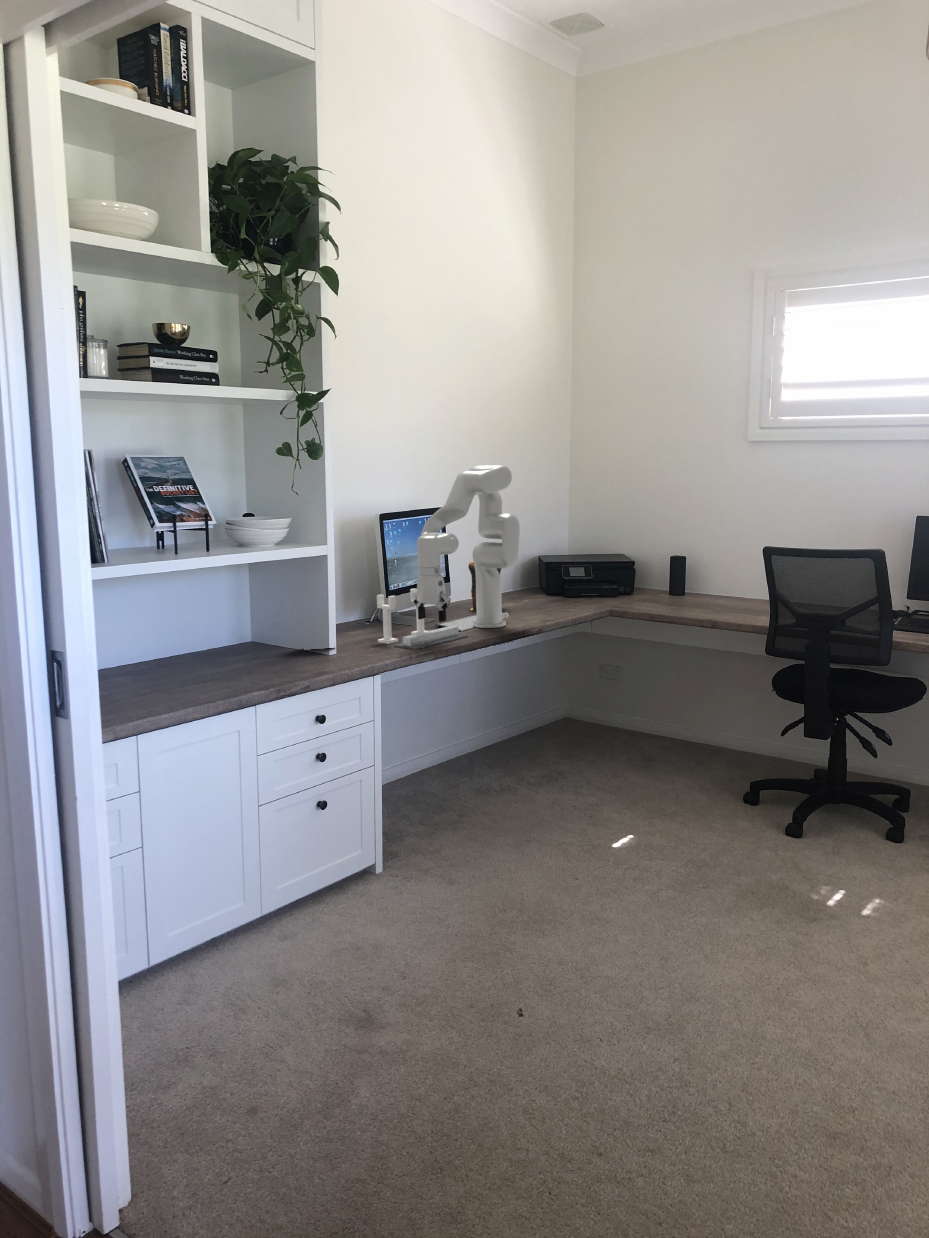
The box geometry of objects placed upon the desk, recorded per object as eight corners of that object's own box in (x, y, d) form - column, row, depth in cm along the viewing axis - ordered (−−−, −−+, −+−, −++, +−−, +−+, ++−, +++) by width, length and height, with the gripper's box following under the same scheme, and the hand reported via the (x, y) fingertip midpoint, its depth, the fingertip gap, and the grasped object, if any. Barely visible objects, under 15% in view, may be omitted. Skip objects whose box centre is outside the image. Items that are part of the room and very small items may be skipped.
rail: (451, 634, 343) (451, 625, 342) (458, 635, 341) (458, 626, 340) (403, 645, 324) (402, 637, 324) (410, 646, 322) (410, 638, 321)
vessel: (507, 606, 404) (505, 560, 401) (500, 613, 391) (498, 564, 387) (474, 606, 408) (472, 560, 404) (466, 612, 394) (464, 564, 391)
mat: (446, 634, 346) (446, 632, 346) (467, 637, 339) (467, 635, 339) (394, 646, 325) (394, 645, 325) (415, 650, 319) (415, 648, 319)
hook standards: (418, 632, 351) (417, 588, 348) (432, 634, 347) (431, 589, 344) (375, 642, 335) (373, 595, 332) (389, 644, 330) (388, 597, 327)
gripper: (455, 571, 326) (458, 620, 329) (418, 568, 337) (421, 615, 340) (441, 574, 320) (443, 624, 323) (404, 571, 331) (406, 619, 334)
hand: (432, 619), depth 332 cm, fingers open, 9 cm apart
